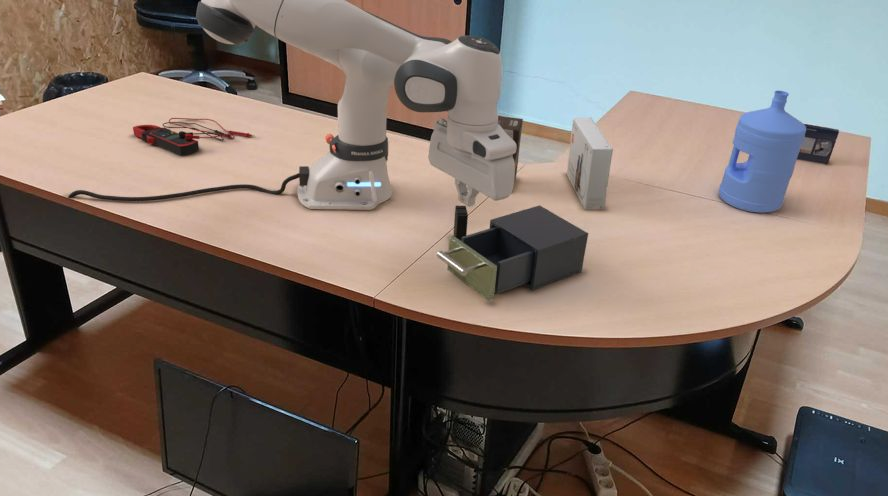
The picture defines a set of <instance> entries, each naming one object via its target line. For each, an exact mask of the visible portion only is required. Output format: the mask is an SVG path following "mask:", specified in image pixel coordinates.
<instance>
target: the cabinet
mask: <svg viewBox="0 0 888 496" xmlns="http://www.w3.org/2000/svg"><path fill="white" fill-rule="evenodd" d="M493 227H497V228H498V229H500V230H501V231H503V232H505V233H506V234H508V235H509V236H511V237H512V238H514V239H515V240H517V241H519V242H520V243H522V244H523V245H525V246H526V247H528V248H530V249H531V250H533V251H534V252H535V257H534V265H533V272H532V279H531V282H528V283H526V284H523V285H524V286H526V287H527V288H529V289H530V290H531V291H535V290H538V289H540V288H543V287H547V286H548V285H551V284H553V283H557V282H559V281H562V280H564V279H567V278H570V277H572V276H575V275H577V274H579V273H582V272H583V266H584V261H585V254H586V250H587V244H588V238H589V232H587V231H585V230H583V229H582V228H580V227H578V226H577V225H575V224H573V223H571V222H569V221H568V220H566V219H565V218H562V217H561V216H559V215H557V214H555V213H554V212H552V211H550V210H549V209H547V208H545V207H543V206H542V205H536V206H533V207H529V208H525V209H523V210H519V211H516V212H512V213H509V214H505V215H502V216H498V217H495V218H492V219H489V228H488V229H490V228H493Z"/></svg>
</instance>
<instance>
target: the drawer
mask: <svg viewBox="0 0 888 496" xmlns="http://www.w3.org/2000/svg"><path fill="white" fill-rule="evenodd" d="M436 257H437V258H438V259H440V260H441V261H442V262H444V263H445V264H446V265H447V271H449V272H450V273H452V274H453V275H454V276H455V277H457V278H458V279H459V280H460V281H462V282H463V283H464V284H466V285H467V286H469V287H470V288H471V289H472V290H474V291H475V292H477V293H478V294H479V295H481V296H482V297H483V298H485V300H487V301H489V302H490V301H493V300H494V299H495V294H496V295H498V294H501V293H503V292H506V291H509V290H513V289H514V288H517V287H520V286H523V285H524V284H526V283H528V282H531V279H532V272H533V265H534V257H535V252H534V251H533V250H531V249H530V248H528V247H526V246H525V245H523V244H522V243H520V242H519V241H517V240H515V239H514V238H512V237H511V236H509V235H508V234H506V233H505V232H503V231H501V230H500V229H498V228H497V227H493V228H490V229H489V228H487V229H483V230H480V231H477V232H474V233H470V234H466V236H463V237H462V239H461V241H460V240H459V239H457V238H456V237H453V236H451V237H449V238H448V250H445V251H443V250H438V251H437V252H436Z"/></svg>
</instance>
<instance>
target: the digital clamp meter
mask: <svg viewBox="0 0 888 496" xmlns="http://www.w3.org/2000/svg"><path fill="white" fill-rule="evenodd" d="M171 120H189V121H191V120H192V121H211V122H214V123H216V125H218V126H219V128H220V129H222V130H223V131H224V132H226V133H224V132H222V131H219V130H218V129H212V128H209V127H206V126H203V125H201V124H199V123H196V122H189V123H188V122H183V121H171ZM168 124H170V125H175V126H166V125H168ZM182 124H183V125H182ZM184 124H185V125H195V126H198V127H201V128H203V129H204V128H205V129H207V130H210V131H206V130H200V129H199V128H197V127H189V126H185V125H184ZM162 126H163V127H161V126H158V125H155V124H139V125H135V126H132V130H133V131H132V132H133V135H134V136H135V137H138V138H140V139H142V140H141V141H143V142H146V143H147V144H149V145H151V144H152V145H154V146H157V147H159V148H161V149H164V150H166V151H168V152H171V153H173V154H175V155H178V156H180V157H184V156H190V155H193V154H195V153H196V154H197V152H198V151H200V146H199V141H198V140H200V139H216V140H219V141H224V140H225V139H224V138H227V139H230V140H236V137H235V135H237V136H244V137H247V138H249V137H254V135H253V134H250V132H240V131H236V130H235V131H234V130H226V129H225V128H224V127H223V126H222V125H221V124H220V123H218V122H217V121H215V120H214V119H210V118H187V117H170V118H169V120H168V122H167V121H166V122H164V123H162ZM171 129H188V130H192V132H187V131H182V130H180V131H179V132H176V131H173V130H171ZM193 131H196V132H197V133H196V132H195V133H194V132H193ZM200 135H207V136H200ZM219 137H221V138H219Z"/></svg>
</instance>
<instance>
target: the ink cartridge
mask: <svg viewBox="0 0 888 496" xmlns="http://www.w3.org/2000/svg"><path fill="white" fill-rule="evenodd" d="M468 220H469V214H468V210H467V206H466V205H457V204H456V205H455V207H454V223H453V236H452V237H456V238H457V239H459V240H460V241H461V239H462V237H463V236H467V235H468V234H467V232H468V222H469V221H468Z"/></svg>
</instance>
